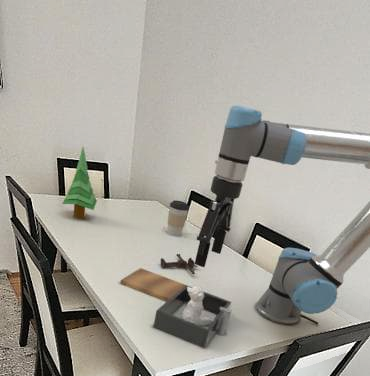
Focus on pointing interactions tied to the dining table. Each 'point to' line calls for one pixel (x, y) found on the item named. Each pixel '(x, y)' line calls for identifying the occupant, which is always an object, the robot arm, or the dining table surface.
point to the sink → (187, 328)
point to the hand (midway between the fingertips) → (208, 258)
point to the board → (152, 284)
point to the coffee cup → (177, 217)
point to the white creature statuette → (195, 307)
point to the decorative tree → (81, 190)
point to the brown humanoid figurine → (179, 263)
